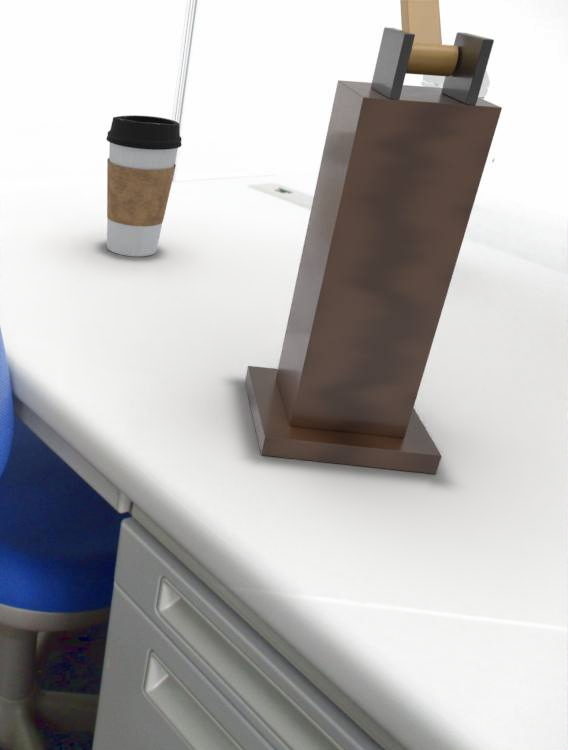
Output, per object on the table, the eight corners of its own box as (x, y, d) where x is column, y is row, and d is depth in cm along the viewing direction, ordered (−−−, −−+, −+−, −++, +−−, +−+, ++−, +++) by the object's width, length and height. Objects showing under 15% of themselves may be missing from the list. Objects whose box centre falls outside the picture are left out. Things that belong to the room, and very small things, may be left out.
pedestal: (393, 397, 71) (496, 30, 58) (436, 474, 60) (573, 47, 48) (244, 381, 72) (313, 18, 59) (261, 455, 61) (349, 32, 49)
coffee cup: (86, 252, 101) (98, 118, 94) (108, 234, 108) (120, 107, 101) (157, 264, 98) (175, 127, 91) (174, 245, 105) (192, 116, 98)
